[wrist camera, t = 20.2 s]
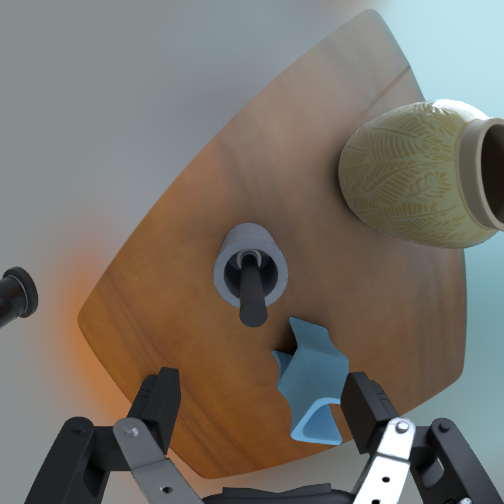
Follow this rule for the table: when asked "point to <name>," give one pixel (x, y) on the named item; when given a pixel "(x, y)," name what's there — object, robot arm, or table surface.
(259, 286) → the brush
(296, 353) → the blue bent piece
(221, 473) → the table surface
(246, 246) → the cup
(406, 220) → the vase
